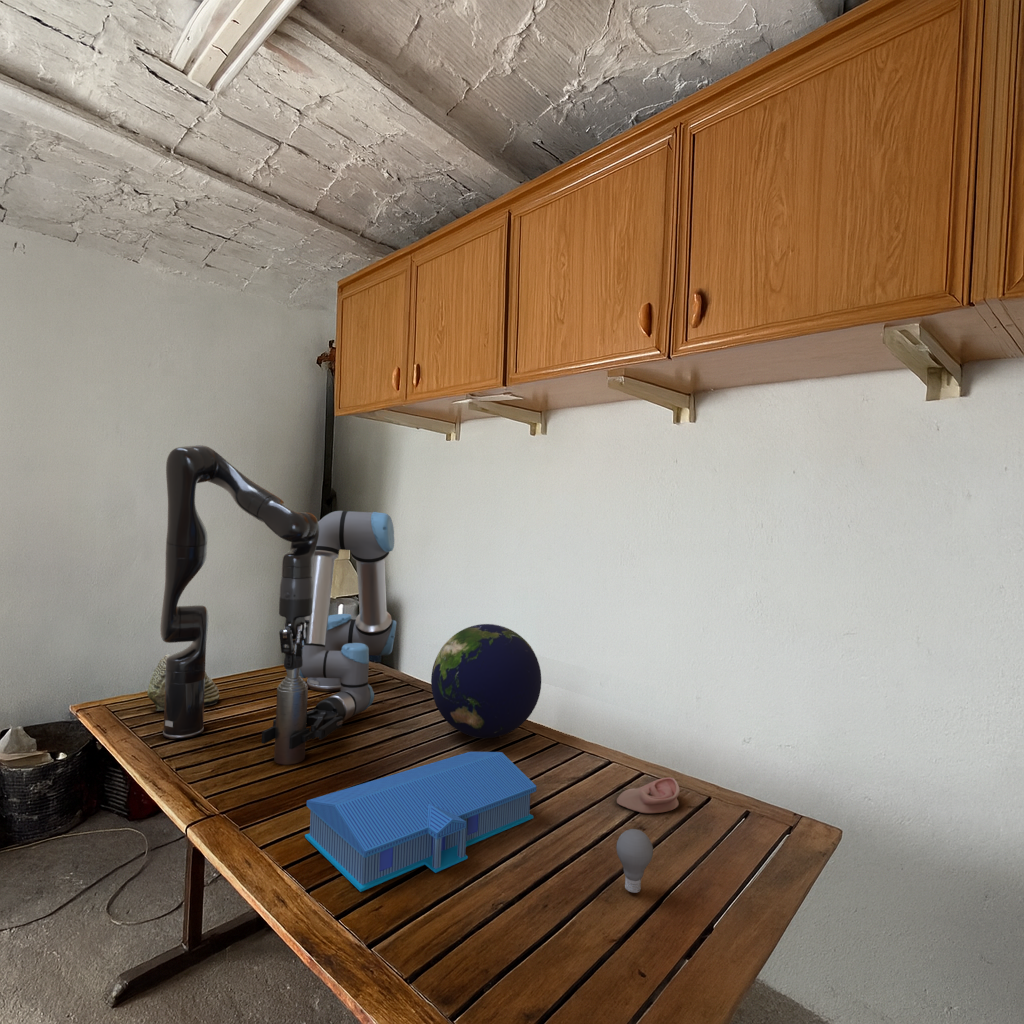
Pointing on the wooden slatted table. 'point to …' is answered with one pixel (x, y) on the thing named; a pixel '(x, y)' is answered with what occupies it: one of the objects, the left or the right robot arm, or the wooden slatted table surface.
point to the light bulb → (634, 857)
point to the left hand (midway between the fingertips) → (293, 666)
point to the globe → (486, 681)
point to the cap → (297, 662)
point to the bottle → (290, 717)
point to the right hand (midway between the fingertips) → (276, 740)
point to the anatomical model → (652, 796)
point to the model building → (419, 816)
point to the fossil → (158, 687)
